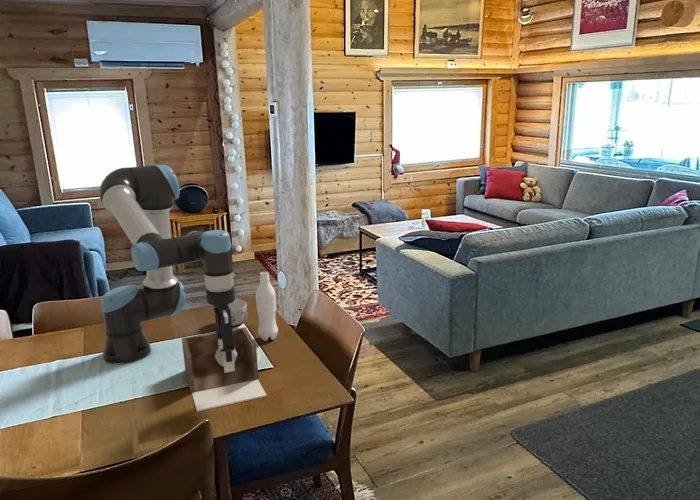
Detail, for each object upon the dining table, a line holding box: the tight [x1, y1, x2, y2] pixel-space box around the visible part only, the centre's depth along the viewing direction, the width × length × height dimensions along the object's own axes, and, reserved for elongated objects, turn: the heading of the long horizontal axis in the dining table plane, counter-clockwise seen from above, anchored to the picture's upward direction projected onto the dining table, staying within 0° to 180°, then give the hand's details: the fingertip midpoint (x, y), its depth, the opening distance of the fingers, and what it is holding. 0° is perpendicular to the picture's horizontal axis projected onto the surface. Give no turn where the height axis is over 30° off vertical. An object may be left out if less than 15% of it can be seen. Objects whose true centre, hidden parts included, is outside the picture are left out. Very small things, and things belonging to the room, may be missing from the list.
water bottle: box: [255, 271, 279, 342], centre depth 192 cm, size 7×7×25 cm
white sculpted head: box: [215, 344, 237, 367], centre depth 148 cm, size 6×7×7 cm
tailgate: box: [191, 379, 268, 413], centre depth 153 cm, size 19×2×11 cm
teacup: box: [228, 298, 248, 327], centre depth 207 cm, size 15×12×8 cm
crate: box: [181, 327, 259, 394], centre depth 164 cm, size 20×15×12 cm
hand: (227, 365), depth 149 cm, fingers closed on white sculpted head, 7 cm apart
